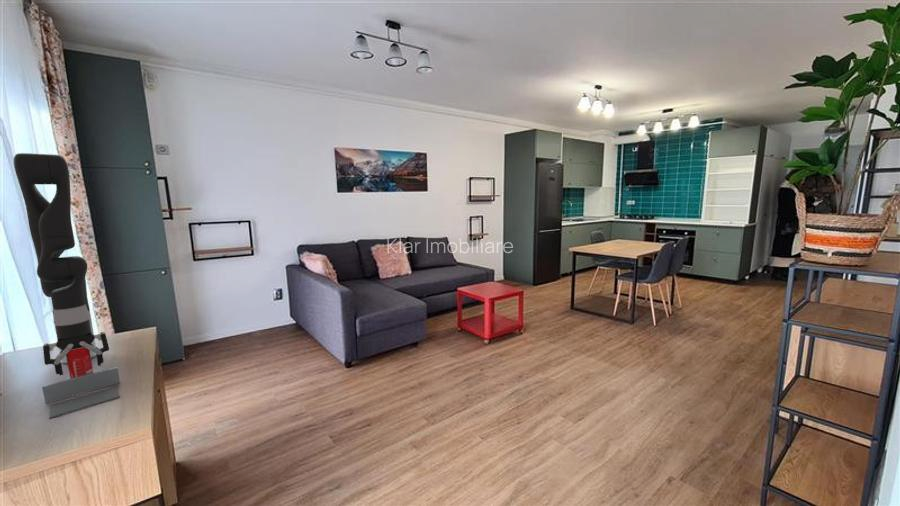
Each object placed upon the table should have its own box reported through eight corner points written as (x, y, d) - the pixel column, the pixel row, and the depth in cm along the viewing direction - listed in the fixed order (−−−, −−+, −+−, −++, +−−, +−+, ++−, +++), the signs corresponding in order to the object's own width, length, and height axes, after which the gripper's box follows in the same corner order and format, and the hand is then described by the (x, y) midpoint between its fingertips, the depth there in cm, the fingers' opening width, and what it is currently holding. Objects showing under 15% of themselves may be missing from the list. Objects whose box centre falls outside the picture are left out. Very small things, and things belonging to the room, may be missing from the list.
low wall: (45, 402, 105) (42, 385, 104) (119, 381, 116) (117, 366, 116) (45, 403, 104) (42, 387, 103) (119, 382, 116) (117, 367, 115)
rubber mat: (50, 405, 103) (50, 404, 103) (116, 386, 113) (116, 385, 113) (49, 418, 97) (49, 417, 97) (120, 397, 107) (119, 396, 107)
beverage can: (79, 386, 113) (73, 350, 112) (67, 385, 114) (60, 349, 113) (98, 378, 118) (92, 343, 117) (86, 377, 119) (80, 342, 118)
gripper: (102, 312, 121) (110, 359, 123) (38, 324, 111) (48, 374, 113) (104, 317, 116) (112, 365, 118) (37, 329, 105) (47, 382, 108)
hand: (80, 369), depth 115 cm, fingers open, 8 cm apart
